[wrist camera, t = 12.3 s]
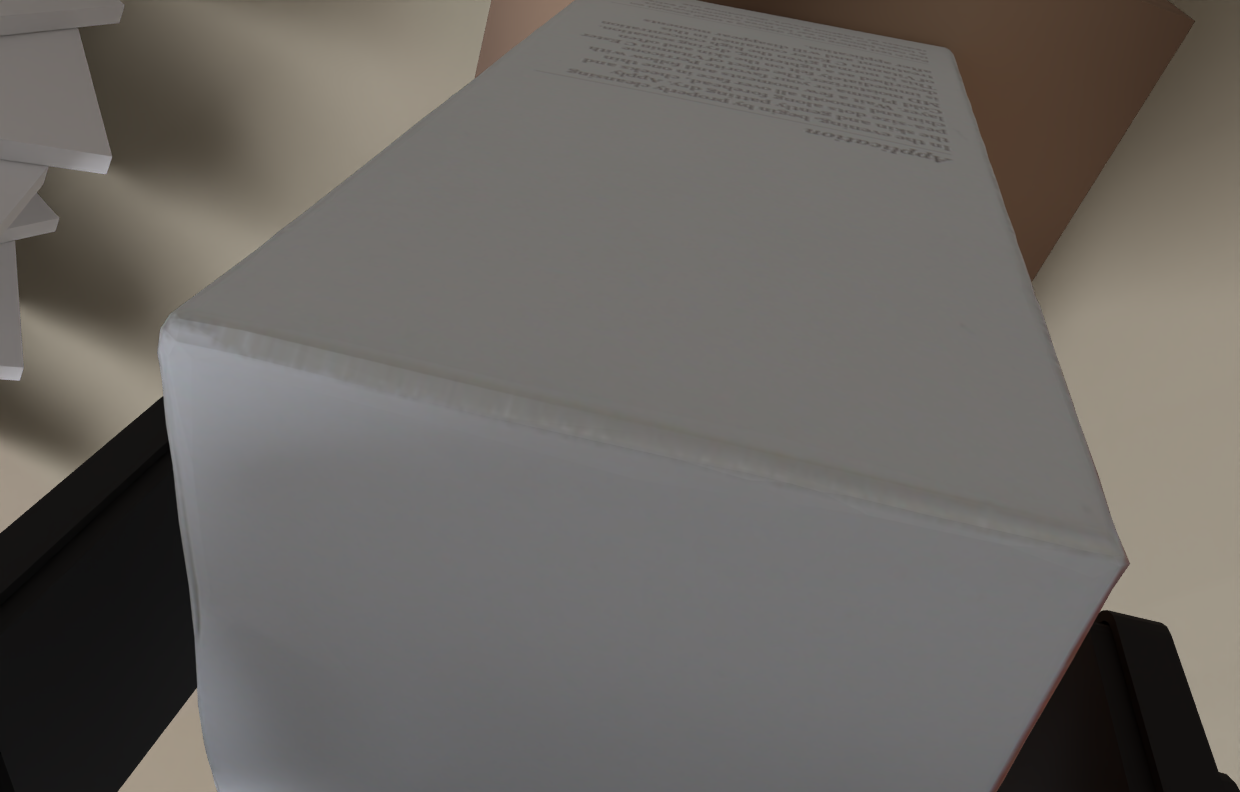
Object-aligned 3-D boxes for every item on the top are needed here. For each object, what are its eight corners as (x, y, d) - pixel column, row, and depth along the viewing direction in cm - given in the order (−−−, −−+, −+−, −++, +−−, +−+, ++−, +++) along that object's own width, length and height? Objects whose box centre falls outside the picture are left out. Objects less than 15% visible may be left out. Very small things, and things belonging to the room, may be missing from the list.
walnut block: (1124, -32, 20) (1195, 20, 15) (881, 396, 26) (884, 515, 22) (607, -226, 20) (540, -226, 15) (489, 247, 26) (418, 338, 22)
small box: (839, 431, 21) (809, 1145, 10) (549, 364, 21) (226, 968, 11) (966, 37, 16) (1163, 566, 5) (593, -33, 17) (110, 316, 6)
